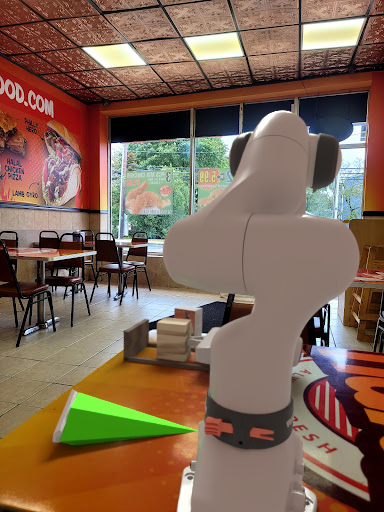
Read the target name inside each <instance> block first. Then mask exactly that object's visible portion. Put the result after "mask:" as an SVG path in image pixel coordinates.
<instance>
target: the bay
mask: <svg viewBox="0 0 384 512" xmlns="http://www.w3.org/2000/svg"><path fill="white" fill-rule="evenodd" d="M147 347H151V348H152V347H153V348H157V342H153V341H150V319H148V318H144V319H142V320H140V321H139V322H137V323H136V324H134V325H132V326H131V327H129V328H126V329H125V330H124V331H123V361H126V362H127V361H128V362H135V363H141V364H149V365H156V366H157V365H158V366H164V367H172V368H180V369H181V368H182V369H189V370H195V371H205V372H210V365H208V364H198V363H192V362H191V363H190V362H189V363H188V362H181V361H173V360H165V359H157V358H150V357H140V356H136V355H138V354H139V353H141V351H143V350H144V349H146V348H147ZM195 349H196V348H195V347H193V346H191V352H195Z"/></svg>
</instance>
